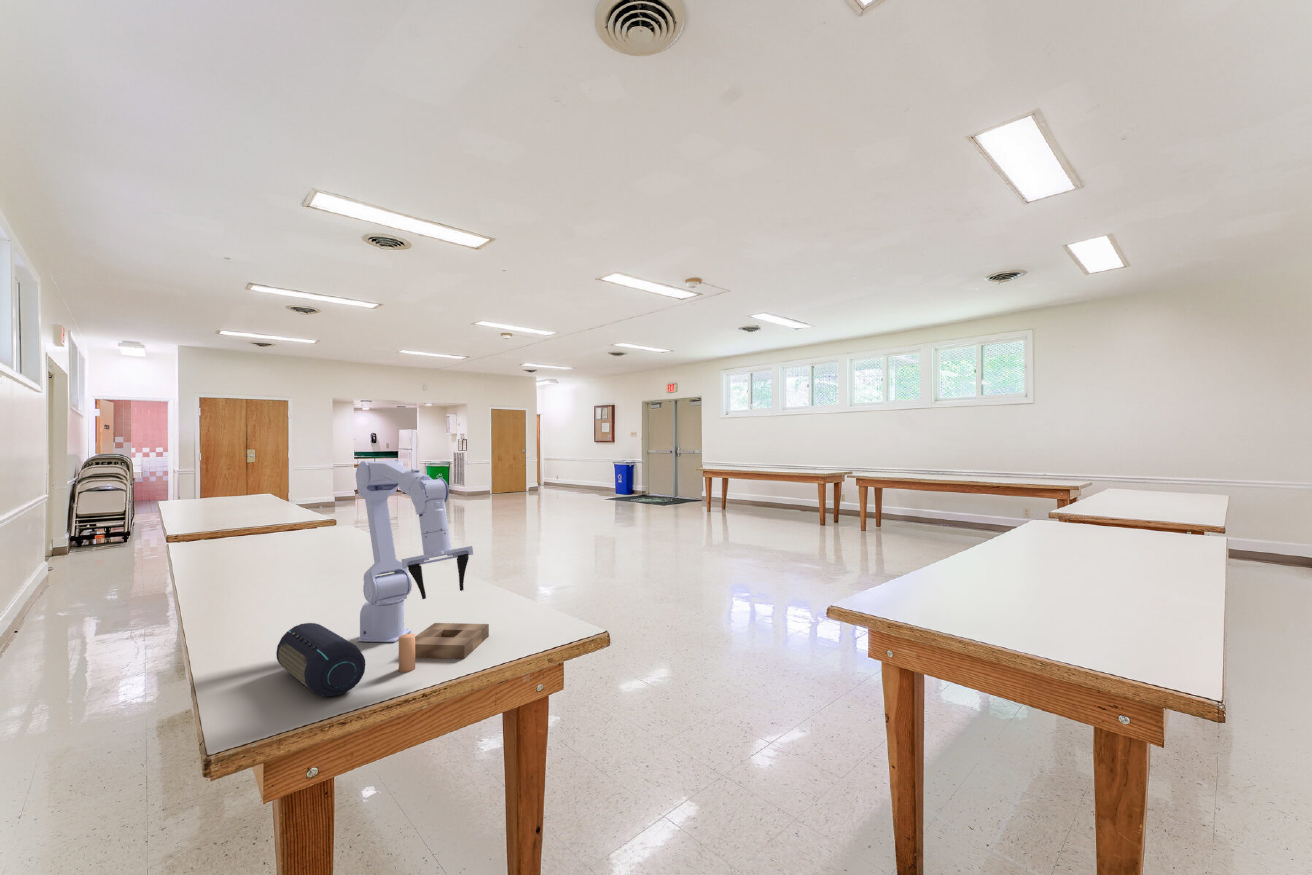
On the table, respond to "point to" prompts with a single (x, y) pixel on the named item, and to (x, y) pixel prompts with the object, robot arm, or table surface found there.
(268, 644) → the table surface
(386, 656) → the table surface
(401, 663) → the peg
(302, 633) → the portable speaker
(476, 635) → the socket block
